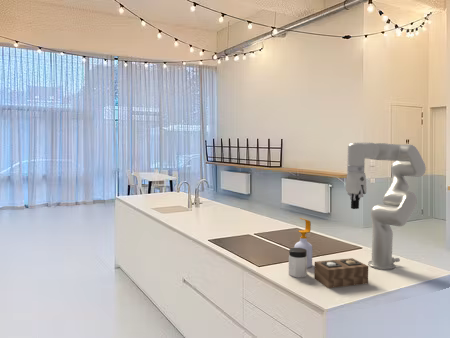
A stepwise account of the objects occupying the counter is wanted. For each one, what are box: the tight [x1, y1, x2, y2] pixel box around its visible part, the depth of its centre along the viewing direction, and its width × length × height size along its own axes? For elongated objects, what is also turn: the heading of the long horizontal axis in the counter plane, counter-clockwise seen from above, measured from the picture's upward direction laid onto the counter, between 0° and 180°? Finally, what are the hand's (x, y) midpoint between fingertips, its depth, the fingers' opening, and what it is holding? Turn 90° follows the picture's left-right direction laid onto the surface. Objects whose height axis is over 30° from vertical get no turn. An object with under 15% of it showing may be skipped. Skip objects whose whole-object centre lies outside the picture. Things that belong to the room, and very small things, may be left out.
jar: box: [288, 247, 308, 278], centre depth 180 cm, size 9×8×12 cm
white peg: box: [327, 262, 336, 266], centre depth 170 cm, size 4×4×8 cm
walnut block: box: [313, 257, 369, 289], centre depth 171 cm, size 20×12×8 cm, turn 106°
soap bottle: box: [293, 217, 313, 269], centre depth 193 cm, size 9×9×25 cm
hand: (354, 208), depth 177 cm, fingers closed
